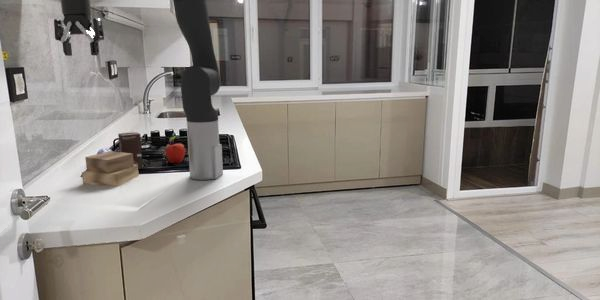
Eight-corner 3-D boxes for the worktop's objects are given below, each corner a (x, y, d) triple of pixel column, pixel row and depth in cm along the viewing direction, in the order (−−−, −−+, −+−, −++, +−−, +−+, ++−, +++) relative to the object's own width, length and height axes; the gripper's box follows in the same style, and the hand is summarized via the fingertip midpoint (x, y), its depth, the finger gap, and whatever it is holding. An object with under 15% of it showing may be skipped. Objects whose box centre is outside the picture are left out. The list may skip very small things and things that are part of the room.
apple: (163, 162, 145) (160, 134, 143) (182, 159, 149) (180, 132, 147) (170, 166, 139) (168, 137, 137) (190, 163, 143) (188, 135, 141)
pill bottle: (98, 164, 143) (102, 171, 135) (94, 150, 142) (97, 155, 134) (115, 160, 146) (119, 166, 138) (111, 145, 144) (115, 151, 136)
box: (123, 173, 131) (120, 135, 129) (121, 170, 135) (117, 133, 133) (143, 170, 135) (140, 133, 132) (140, 167, 138) (137, 131, 136)
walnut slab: (133, 166, 125) (132, 153, 124) (108, 173, 117) (107, 160, 116) (112, 163, 129) (111, 151, 128) (86, 170, 121) (85, 157, 120)
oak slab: (138, 177, 129) (137, 164, 128) (118, 187, 118) (117, 173, 117) (105, 175, 130) (104, 163, 129) (83, 186, 120) (81, 172, 119)
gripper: (105, -1, 123) (111, 55, 127) (62, 0, 125) (68, 55, 129) (89, -5, 116) (95, 55, 119) (43, -4, 118) (50, 55, 122)
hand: (81, 55), depth 124 cm, fingers open, 8 cm apart
